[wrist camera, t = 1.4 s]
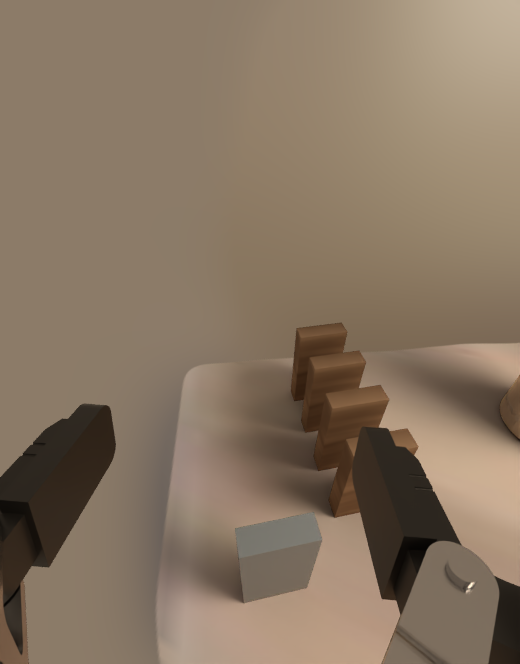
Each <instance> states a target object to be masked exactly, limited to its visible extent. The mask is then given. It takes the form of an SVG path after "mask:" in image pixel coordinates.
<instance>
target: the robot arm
mask: <svg viewBox="0 0 520 664" xmlns="http://www.w3.org/2000/svg"><path fill="white" fill-rule="evenodd" d="M500 413H501V417H502V419H503V421H504V423H505V424H506V425H507V427H508V428H509V429H510V431H511V432H512V433H513V434H514V435H515V436H516V437H517V438H519V439H520V375H519V377H518V378H517V380H516V381H515V382H514V384H513V385H512V387H511V388H510V389H509V391H508V392H507V393H506V395H505V396H504V398H503V399H502V401H501V403H500ZM115 447H116V443H115V436H114V429H113V422H112V416H111V410H110V408H109V406H107V405H95V404H82V405H80V406H79V407H78V408H77V409H76V411H75V412H74V413H73V414H72V415H71V416H70V417H69V418H68V419H61V420H60V421H58V422H56V423H55V424H53V425H52V426H50V427H48V428H47V429H45V430H44V431H43V433H42V434H41V435H40V436H39V437H38V438H37V439H36V440H35V441H34V442H33V445H30V446H29V447H28V448H27V450H26V451H25V452H24V453H23V455H22V456H20V457H19V458H18V459H17V460H16V461H15V462H14V463H13V464H12V466H11V467H10V468H9V469H8V470H7V471H6V472H5V473H4V474H3V475H2V476H1V477H0V664H29V659H28V642H27V624H26V623H27V622H26V603H25V585H24V581H23V579H24V577H25V575H26V574H27V572H28V571H29V569H30V567H31V566H39V567H49V566H50V565H51V563H52V562H53V560H54V558H55V557H56V555H57V553H58V551H59V550H60V548H61V546H62V545H63V543H64V541H65V540H66V538H67V536H68V535H69V533H70V531H71V529H72V528H73V526H74V524H75V523H76V521H77V520H78V518H79V516H80V514H81V513H82V511H83V509H84V508H85V506H86V504H87V503H88V501H89V499H90V498H91V496H92V494H93V493H94V491H95V489H96V488H97V486H98V484H99V482H100V481H101V479H102V477H103V476H104V474H105V472H106V471H107V469H108V467H109V466H110V464H111V462H112V460H113V457H114V453H115ZM352 479H353V485H354V489H355V493H356V497H357V501H358V505H359V509H360V513H361V517H362V521H363V525H364V529H365V533H366V538H367V542H368V546H369V550H370V554H371V558H372V562H373V566H374V570H375V574H376V578H377V582H378V586H379V590H380V594H381V598H382V599H387V600H397V604H398V607H399V611H400V618H399V620H398V623H397V625H396V628H395V631H394V633H393V636H392V638H391V641H390V643H389V646H388V648H387V651H386V654H385V656H384V659H383V661H382V664H520V587H519V586H516V585H514V584H511V583H509V582H506V581H504V580H502V579H499V578H497V577H496V576H494V575H493V573H492V572H491V570H490V569H489V567H488V566H487V565H486V564H485V563H484V562H483V561H482V560H481V559H480V558H479V557H478V556H477V555H476V554H475V553H473V552H472V551H470V550H469V549H467V548H465V547H464V546H462V545H461V543H460V541H459V539H458V538H457V536H456V534H455V532H454V530H453V528H452V526H451V524H450V522H449V520H448V518H447V516H446V514H445V512H444V510H443V508H442V506H441V504H440V502H439V500H438V498H437V496H436V494H435V492H433V488H432V486H431V484H430V482H429V480H428V479H427V478H426V474H425V472H424V470H423V468H422V466H421V464H420V462H419V460H418V459H417V458H416V457H415V456H414V455H413V454H412V453H411V452H410V451H409V450H408V449H407V448H406V447H400V446H396V445H395V443H394V440H393V438H392V436H391V434H390V432H389V430H388V429H387V428H376V427H364V426H363V427H362V428H361V430H360V433H359V438H358V442H357V446H356V451H355V455H354V459H353V465H352Z"/></svg>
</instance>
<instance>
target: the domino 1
mask: <svg viewBox="0 0 520 664" xmlns="http://www.w3.org/2000/svg"><path fill="white" fill-rule="evenodd" d="M235 532H236V541H237V550H238V559H239V568H240V577H241V585H242V593H243V601H244V603H247V602H251V601H255V600H259V599H263V598H267V597H271V596H275V595H279V594H283V593H288V592H292V591H296V590H300V589H304V588H307V586H308V583H309V580H310V576H311V573H312V570H313V567H314V564H315V561H316V558H317V555H318V551H319V548H320V545H321V542H322V537H321V534H320V531H319V528H318V524H317V521H316V518H315V514H314V512H312V513H307V514H302V515H297V516H293V517H288V518H283V519H278V520H273V521H269V522H264V523H259V524H254V525H250V526H245V527H240V528H235Z"/></svg>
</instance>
